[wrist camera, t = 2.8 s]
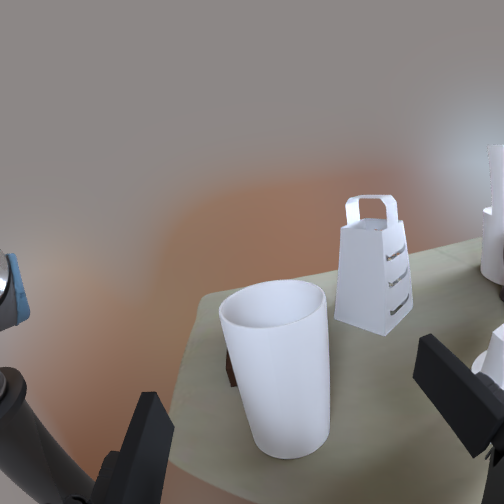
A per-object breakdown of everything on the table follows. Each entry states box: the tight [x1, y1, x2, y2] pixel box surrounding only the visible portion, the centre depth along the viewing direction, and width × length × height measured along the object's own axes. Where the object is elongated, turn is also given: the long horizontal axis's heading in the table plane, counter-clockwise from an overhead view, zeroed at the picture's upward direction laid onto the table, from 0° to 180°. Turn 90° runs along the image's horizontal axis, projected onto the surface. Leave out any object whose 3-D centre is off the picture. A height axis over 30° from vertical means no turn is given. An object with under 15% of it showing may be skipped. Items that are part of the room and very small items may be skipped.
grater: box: [334, 195, 413, 337], centre depth 42 cm, size 10×10×20 cm
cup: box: [219, 280, 330, 459], centre depth 23 cm, size 8×8×16 cm
